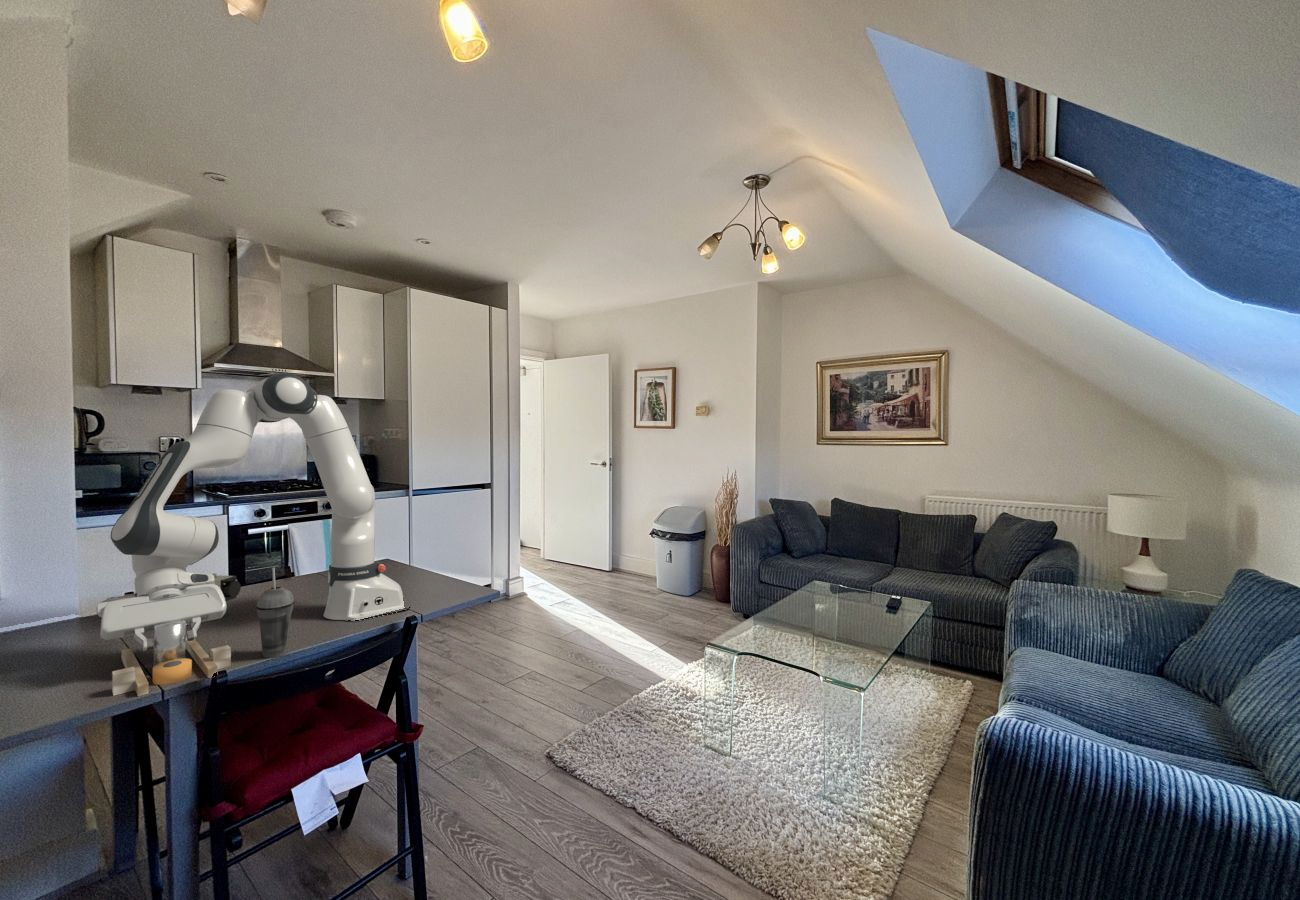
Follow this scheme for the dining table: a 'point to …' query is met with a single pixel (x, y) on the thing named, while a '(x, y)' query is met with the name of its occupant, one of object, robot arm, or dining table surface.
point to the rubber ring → (172, 671)
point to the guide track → (137, 681)
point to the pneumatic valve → (228, 586)
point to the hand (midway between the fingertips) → (170, 644)
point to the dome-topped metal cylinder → (169, 641)
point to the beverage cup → (275, 619)
